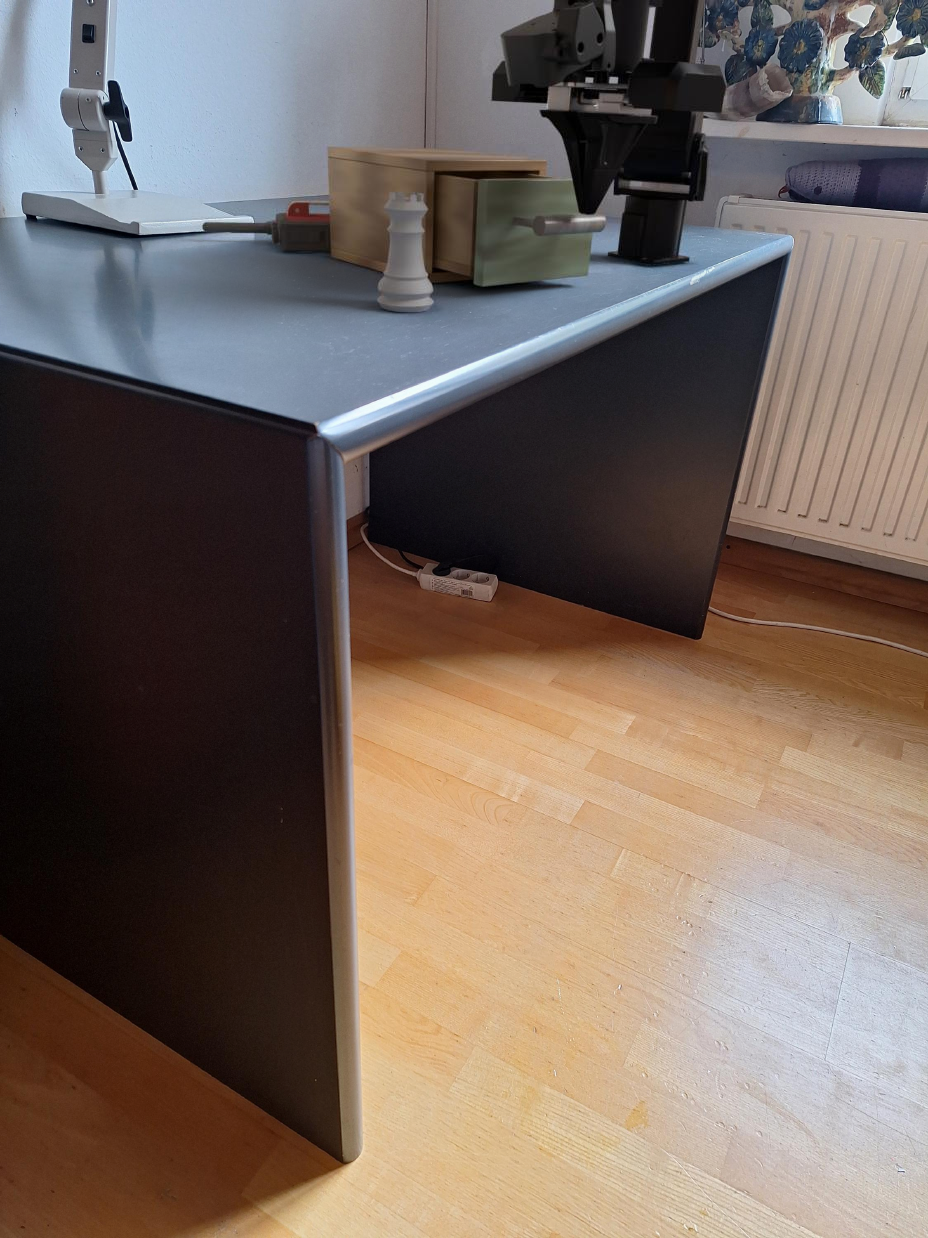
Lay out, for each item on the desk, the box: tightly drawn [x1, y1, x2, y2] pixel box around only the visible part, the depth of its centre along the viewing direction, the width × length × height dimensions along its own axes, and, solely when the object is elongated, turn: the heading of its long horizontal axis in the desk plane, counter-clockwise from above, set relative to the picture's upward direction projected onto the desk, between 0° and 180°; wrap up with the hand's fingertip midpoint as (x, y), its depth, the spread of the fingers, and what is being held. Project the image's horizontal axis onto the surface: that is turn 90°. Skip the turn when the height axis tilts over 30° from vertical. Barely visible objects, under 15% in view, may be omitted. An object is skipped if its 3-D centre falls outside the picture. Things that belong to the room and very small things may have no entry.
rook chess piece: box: [376, 192, 435, 313], centre depth 65 cm, size 4×4×8 cm
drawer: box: [432, 171, 607, 288], centre depth 76 cm, size 18×12×8 cm
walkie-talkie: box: [201, 199, 331, 253], centre depth 90 cm, size 9×4×20 cm
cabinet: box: [326, 146, 548, 284], centre depth 82 cm, size 16×14×10 cm
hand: (586, 213), depth 68 cm, fingers closed
